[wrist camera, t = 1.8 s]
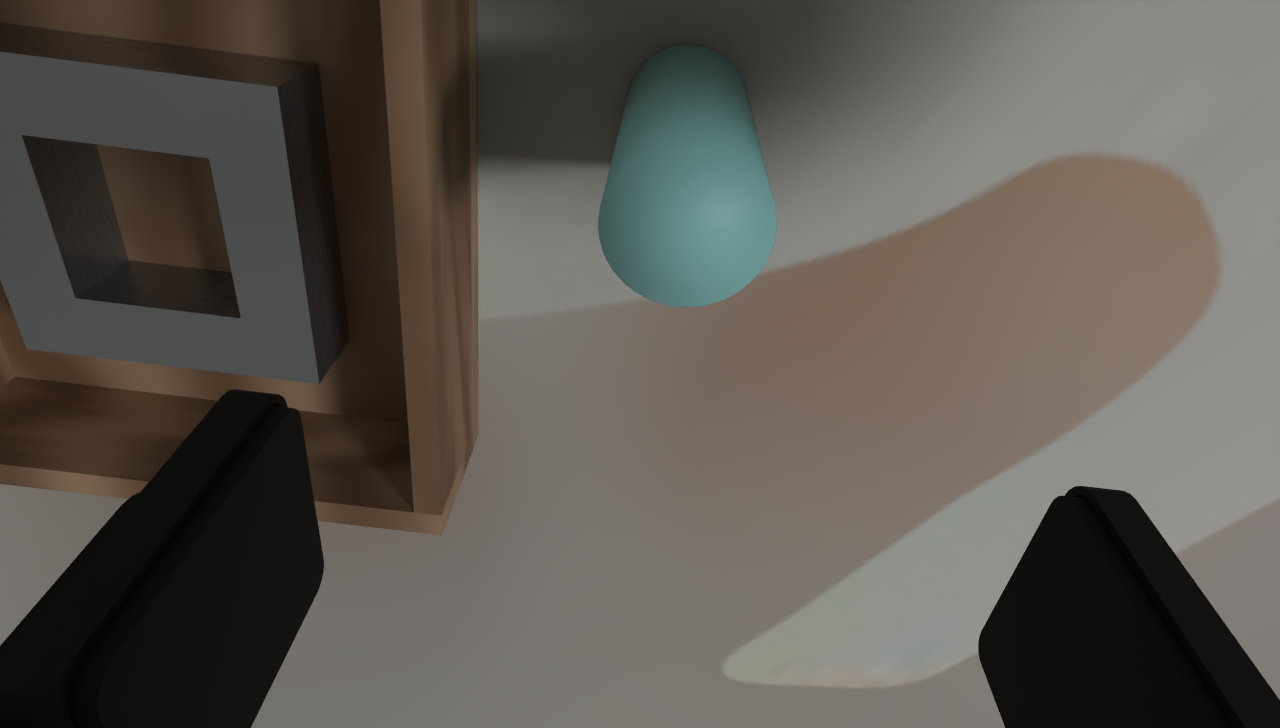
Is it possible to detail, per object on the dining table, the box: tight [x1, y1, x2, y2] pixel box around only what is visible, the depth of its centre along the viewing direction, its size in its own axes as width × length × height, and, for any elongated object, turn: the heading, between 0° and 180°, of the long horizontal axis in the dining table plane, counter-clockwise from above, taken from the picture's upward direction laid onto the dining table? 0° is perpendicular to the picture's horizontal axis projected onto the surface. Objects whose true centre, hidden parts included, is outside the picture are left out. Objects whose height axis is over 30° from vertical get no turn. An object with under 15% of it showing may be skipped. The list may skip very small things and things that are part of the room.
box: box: [0, 0, 478, 535], centre depth 26 cm, size 20×20×6 cm
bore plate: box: [0, 23, 350, 384], centre depth 26 cm, size 10×10×3 cm
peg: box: [598, 44, 777, 307], centre depth 22 cm, size 4×4×10 cm
